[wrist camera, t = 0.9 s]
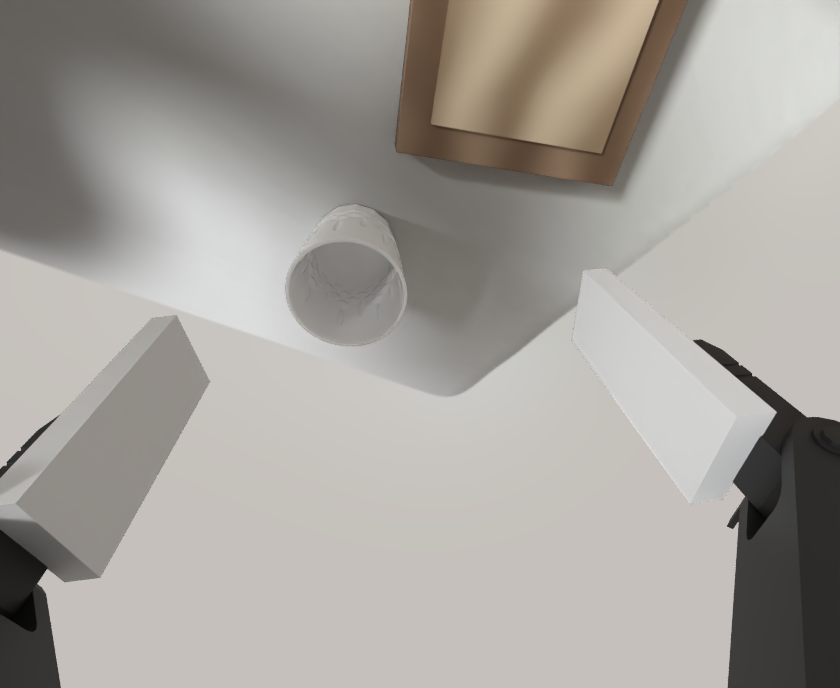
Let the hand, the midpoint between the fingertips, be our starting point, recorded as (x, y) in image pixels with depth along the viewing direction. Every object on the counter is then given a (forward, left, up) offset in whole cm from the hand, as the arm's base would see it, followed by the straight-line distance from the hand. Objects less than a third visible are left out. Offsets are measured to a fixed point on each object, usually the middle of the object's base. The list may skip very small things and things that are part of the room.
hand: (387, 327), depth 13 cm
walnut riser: (+9, +11, -22) cm, 26 cm away
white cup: (-2, -5, -22) cm, 23 cm away
